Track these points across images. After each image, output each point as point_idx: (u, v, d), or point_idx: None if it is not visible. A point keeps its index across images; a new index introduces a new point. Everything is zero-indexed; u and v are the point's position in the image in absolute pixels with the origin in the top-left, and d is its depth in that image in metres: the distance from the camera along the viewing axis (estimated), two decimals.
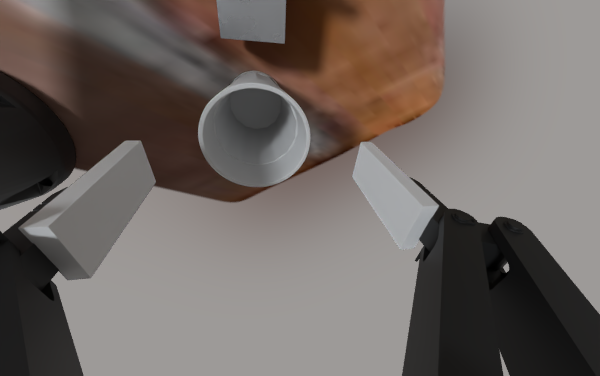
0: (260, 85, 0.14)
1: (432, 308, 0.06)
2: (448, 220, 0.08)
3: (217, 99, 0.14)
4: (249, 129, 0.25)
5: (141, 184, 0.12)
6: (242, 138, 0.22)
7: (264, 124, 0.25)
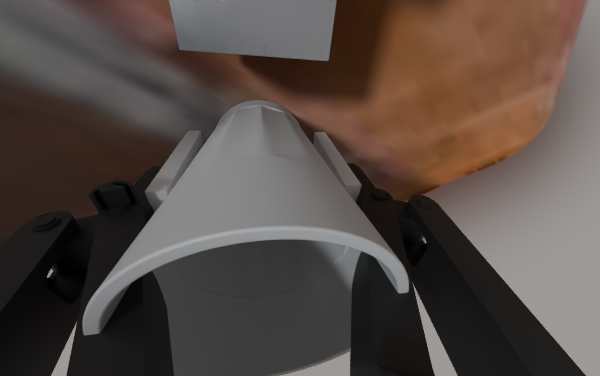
0: (285, 232, 0.04)
1: (365, 288, 0.06)
2: (368, 200, 0.09)
3: (128, 281, 0.04)
4: None
5: None
6: None
7: None
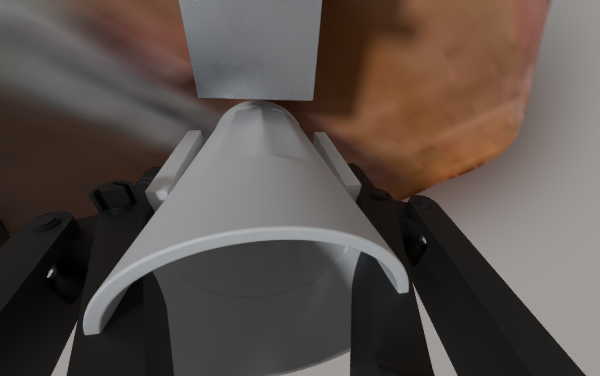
0: (285, 232, 0.04)
1: (364, 288, 0.06)
2: (368, 200, 0.09)
3: (129, 281, 0.04)
4: None
5: None
6: None
7: None
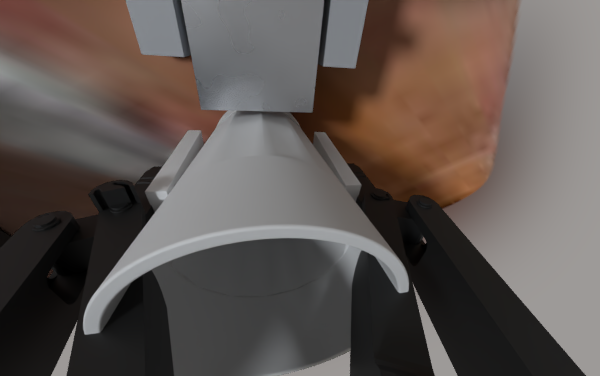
0: (285, 231, 0.04)
1: (364, 288, 0.06)
2: (368, 200, 0.09)
3: (129, 280, 0.04)
4: None
5: None
6: None
7: None
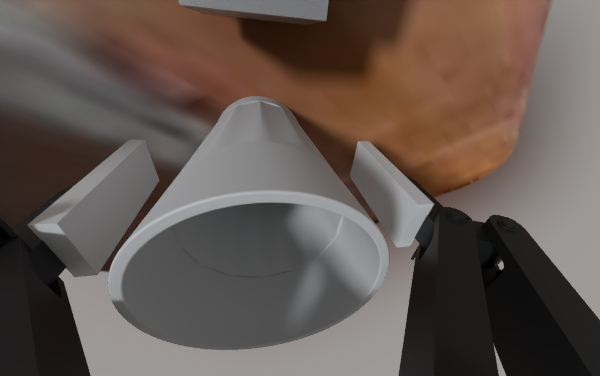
0: (278, 196, 0.04)
1: (428, 307, 0.06)
2: (443, 218, 0.08)
3: (149, 237, 0.04)
4: None
5: (145, 183, 0.12)
6: (236, 212, 0.13)
7: None
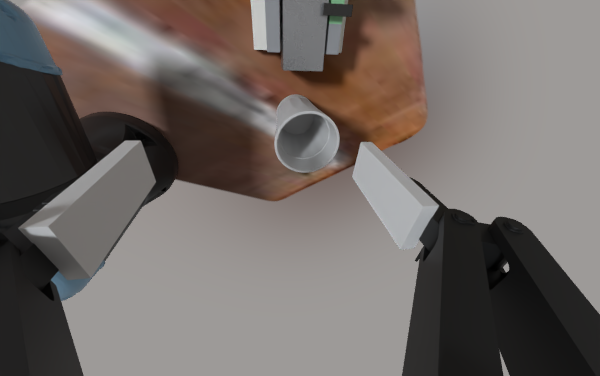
0: (312, 112, 0.24)
1: (432, 308, 0.06)
2: (448, 220, 0.08)
3: (288, 120, 0.24)
4: (291, 134, 0.35)
5: (141, 184, 0.12)
6: (288, 141, 0.33)
7: (301, 131, 0.36)
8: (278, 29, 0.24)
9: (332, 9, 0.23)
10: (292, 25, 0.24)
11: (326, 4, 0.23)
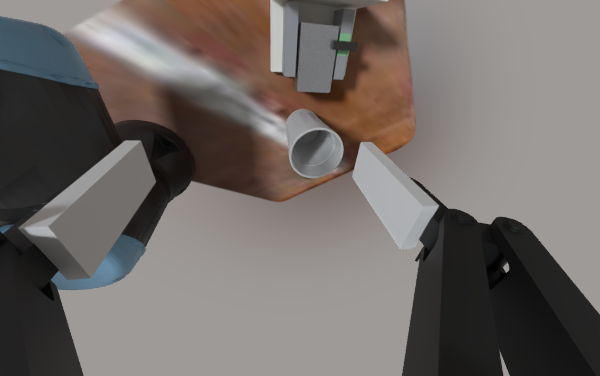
0: (322, 128, 0.29)
1: (432, 308, 0.06)
2: (448, 220, 0.08)
3: (302, 135, 0.29)
4: (298, 143, 0.40)
5: (141, 184, 0.12)
6: (297, 150, 0.38)
7: (307, 140, 0.41)
8: (295, 58, 0.29)
9: (340, 45, 0.28)
10: (307, 56, 0.29)
11: (336, 41, 0.28)
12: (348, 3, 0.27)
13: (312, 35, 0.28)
